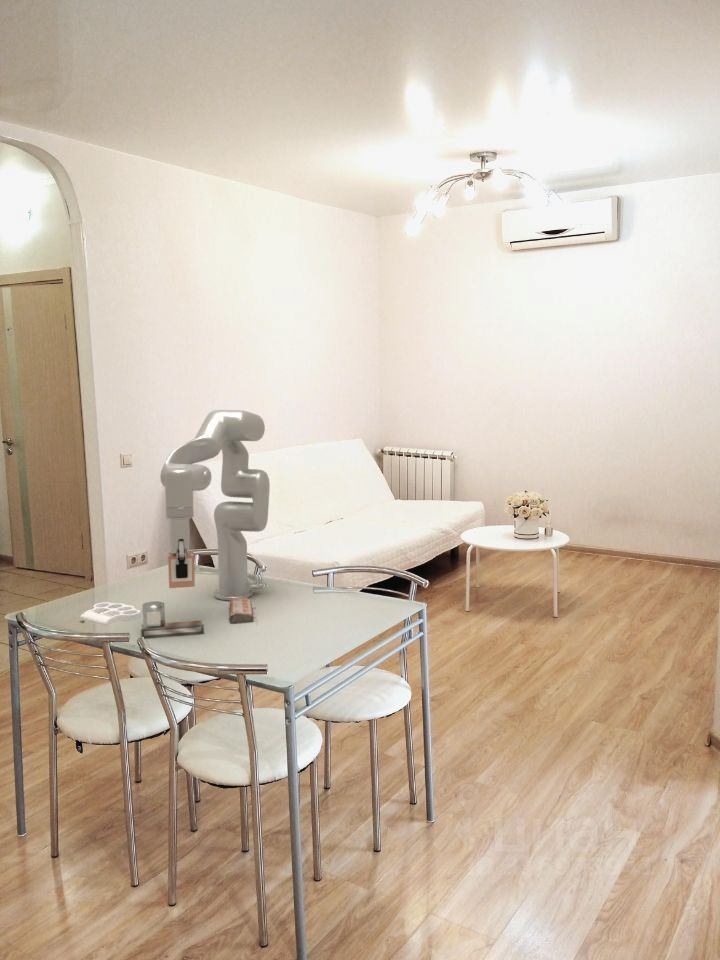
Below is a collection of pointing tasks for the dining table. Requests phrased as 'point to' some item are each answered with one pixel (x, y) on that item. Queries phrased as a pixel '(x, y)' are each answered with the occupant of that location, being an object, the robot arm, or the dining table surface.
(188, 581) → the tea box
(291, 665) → the dining table surface
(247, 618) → the packaged product
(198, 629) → the shelf board
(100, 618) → the knuckle duster
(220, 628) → the dining table surface
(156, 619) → the tin
